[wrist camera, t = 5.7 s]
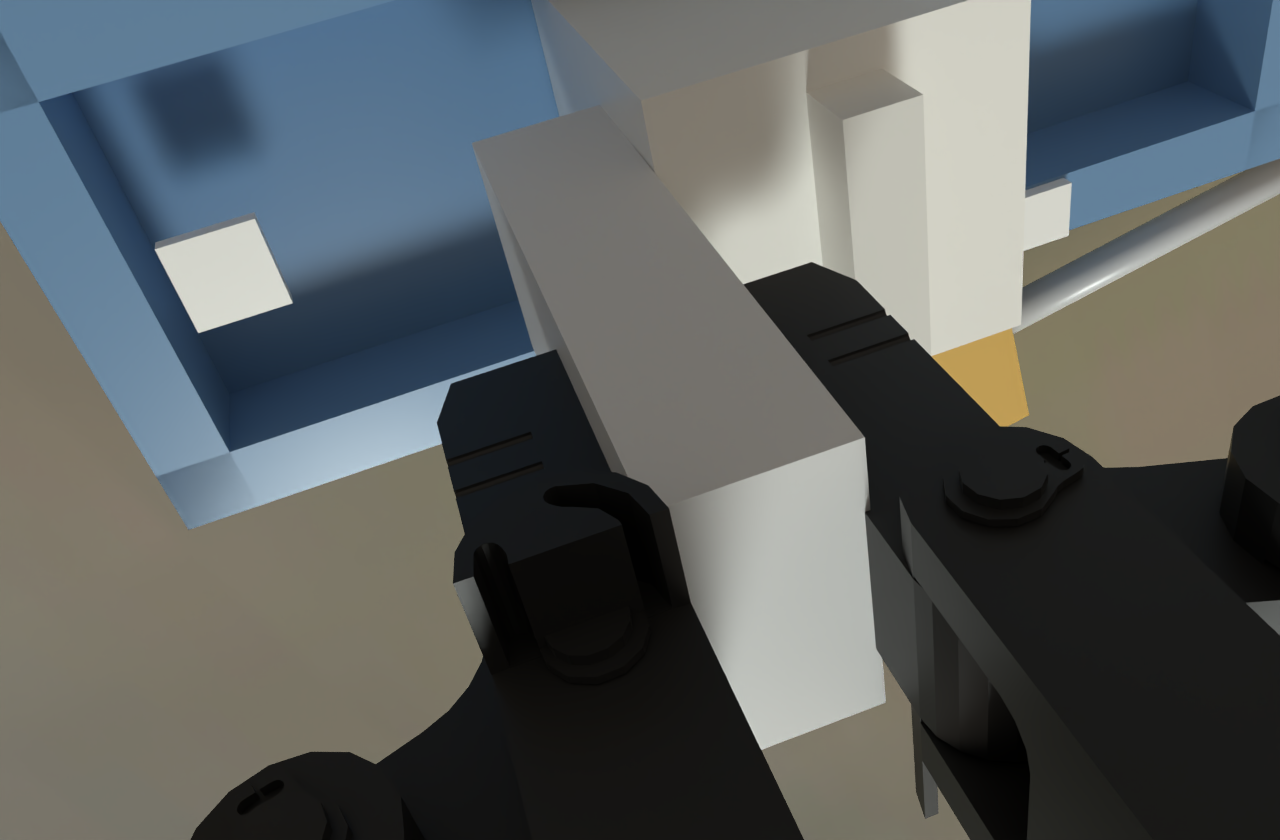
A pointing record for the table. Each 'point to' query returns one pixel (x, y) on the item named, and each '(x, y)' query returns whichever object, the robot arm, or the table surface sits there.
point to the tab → (827, 137)
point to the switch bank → (432, 198)
